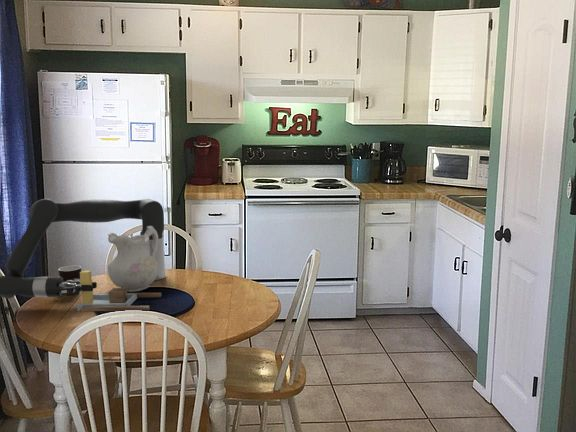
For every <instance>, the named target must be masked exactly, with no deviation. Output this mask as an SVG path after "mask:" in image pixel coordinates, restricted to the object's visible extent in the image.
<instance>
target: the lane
mask: <svg viewBox="0 0 576 432" xmlns="http://www.w3.org/2000/svg"><path fill="white" fill-rule="evenodd" d="M97 294H109V292H99V293H97ZM127 294H137V298H161V297H162V292H127ZM150 309H151V308H150V305H130V306H83V307H82V308H81V310H80V311H81V312H122V311H121V310H147V311H150ZM147 311H146V312H147Z"/></svg>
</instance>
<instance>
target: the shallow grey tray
mask: <svg viewBox="0 0 576 432" xmlns="http://www.w3.org/2000/svg"><path fill="white" fill-rule="evenodd" d="M80 280H81V285H92V282H93V280H92V270H90V269H89V270H81V272H80ZM127 299H128V300H127V301H126V302H125V303H110V301H109V294H98V293H94V290H93V291H82V292H81V303H76V309H77V310H76V311H77V312H80V311H81V308H82V307H83V306H132V304H133V303H134V302H136V300H137V299H138V297H137V294H127Z"/></svg>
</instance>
